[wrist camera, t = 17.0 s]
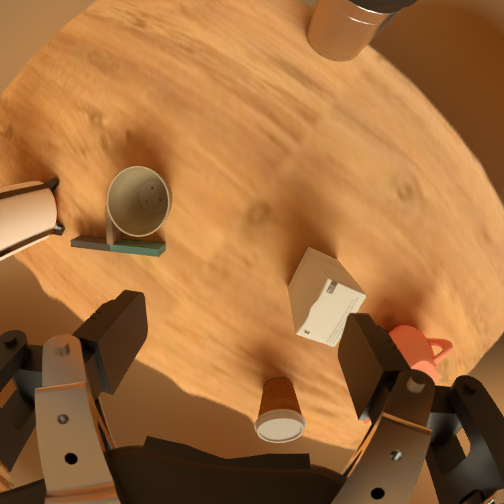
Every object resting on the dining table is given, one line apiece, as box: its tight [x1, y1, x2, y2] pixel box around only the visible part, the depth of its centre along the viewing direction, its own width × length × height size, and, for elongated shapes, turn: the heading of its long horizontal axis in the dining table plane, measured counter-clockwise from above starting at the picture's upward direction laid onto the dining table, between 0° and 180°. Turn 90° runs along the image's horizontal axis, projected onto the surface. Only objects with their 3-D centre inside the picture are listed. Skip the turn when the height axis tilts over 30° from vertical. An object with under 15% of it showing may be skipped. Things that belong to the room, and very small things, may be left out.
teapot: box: [363, 324, 453, 424], centre depth 43 cm, size 16×17×14 cm
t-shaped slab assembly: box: [71, 205, 166, 257], centre depth 42 cm, size 8×18×4 cm, turn 85°
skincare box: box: [287, 247, 367, 347], centre depth 38 cm, size 8×6×15 cm
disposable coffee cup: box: [255, 378, 306, 443], centre depth 47 cm, size 10×10×12 cm
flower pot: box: [107, 166, 172, 237], centre depth 38 cm, size 10×10×7 cm
